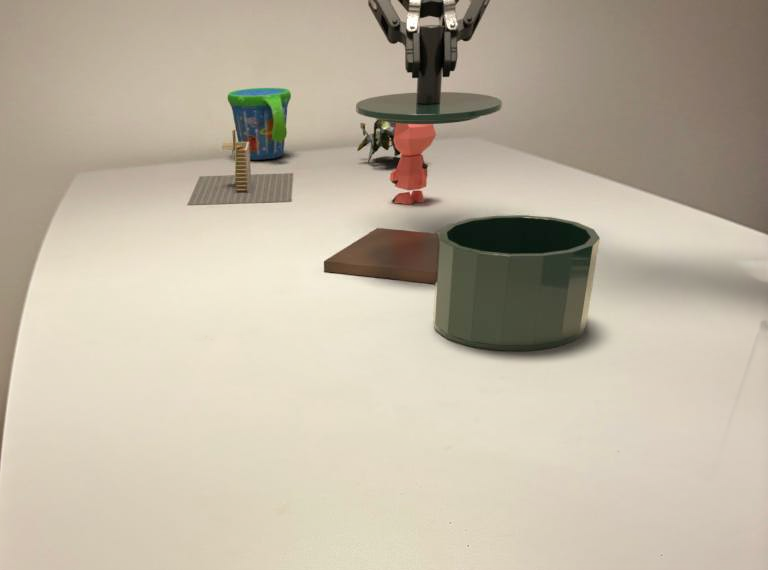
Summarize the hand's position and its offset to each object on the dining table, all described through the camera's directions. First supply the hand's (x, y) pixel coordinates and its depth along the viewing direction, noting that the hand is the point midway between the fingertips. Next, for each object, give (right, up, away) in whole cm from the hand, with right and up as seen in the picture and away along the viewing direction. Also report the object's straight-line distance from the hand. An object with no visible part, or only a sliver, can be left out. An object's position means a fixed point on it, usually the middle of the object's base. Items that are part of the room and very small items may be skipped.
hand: (431, 71), depth 99 cm
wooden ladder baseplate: (-22, +11, +48) cm, 54 cm away
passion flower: (+2, +20, +59) cm, 63 cm away
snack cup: (-20, +26, +68) cm, 75 cm away
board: (+1, -15, +13) cm, 20 cm away
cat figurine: (+3, +4, +38) cm, 38 cm away
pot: (+7, -28, -5) cm, 30 cm away
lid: (0, -2, +4) cm, 4 cm away
